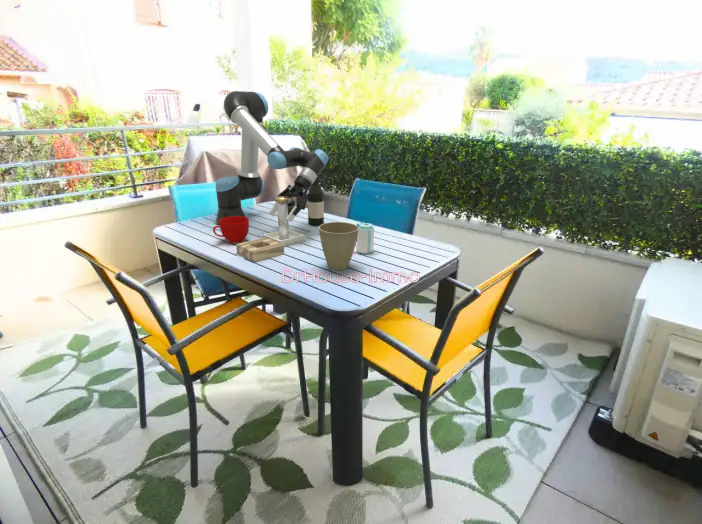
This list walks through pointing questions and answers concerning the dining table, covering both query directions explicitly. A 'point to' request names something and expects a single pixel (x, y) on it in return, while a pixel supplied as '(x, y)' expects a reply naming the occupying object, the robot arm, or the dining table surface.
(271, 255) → the socket block
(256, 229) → the dining table surface
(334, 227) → the plant pot
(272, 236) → the tray
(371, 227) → the can
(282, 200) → the pin
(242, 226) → the ceramic cup
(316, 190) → the wine bottle
